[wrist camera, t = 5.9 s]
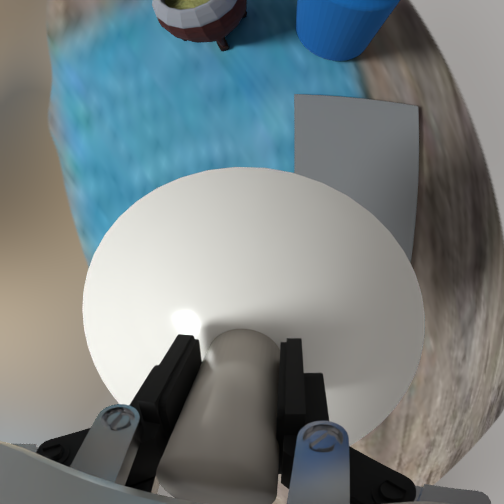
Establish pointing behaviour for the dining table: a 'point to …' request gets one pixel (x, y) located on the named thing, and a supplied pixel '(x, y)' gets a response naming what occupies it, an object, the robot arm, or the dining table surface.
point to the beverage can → (340, 25)
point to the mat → (363, 155)
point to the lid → (252, 316)
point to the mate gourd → (200, 18)
